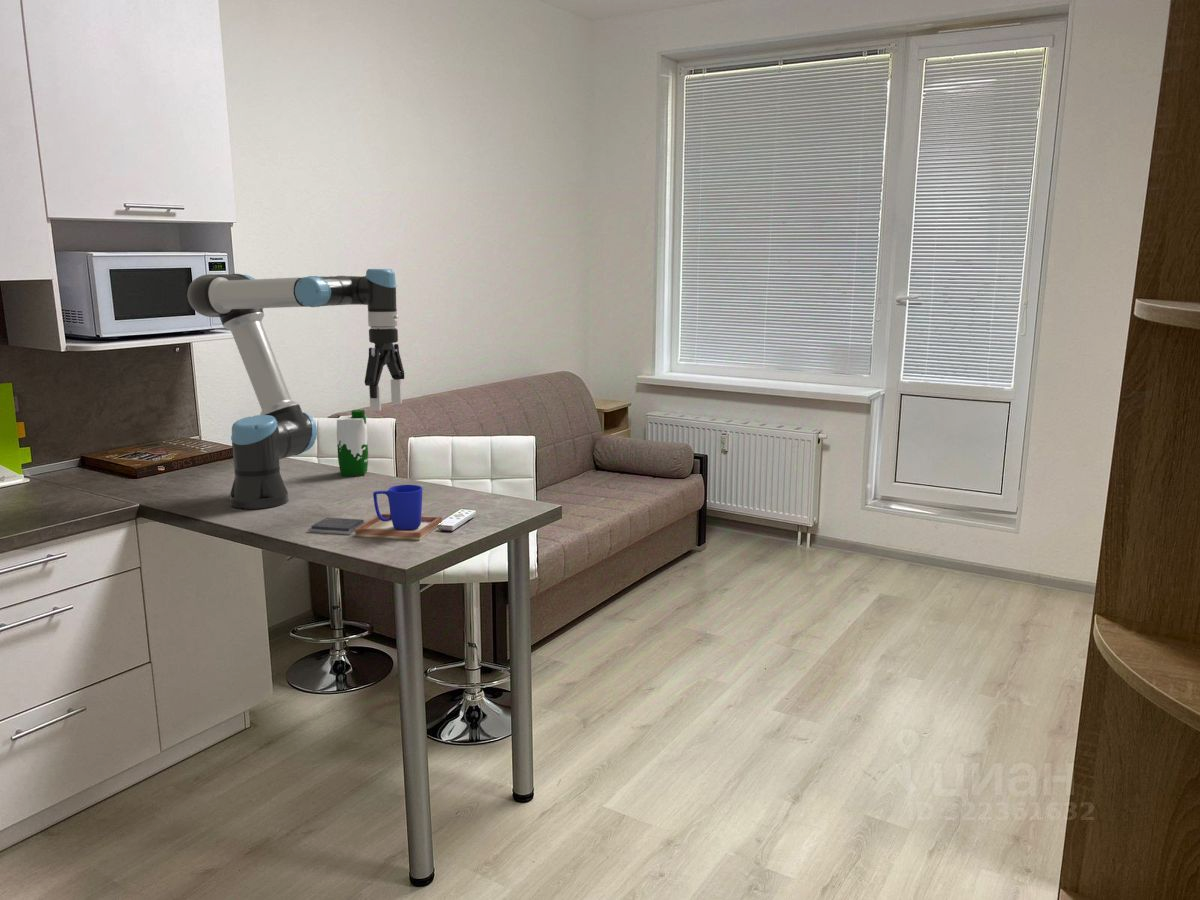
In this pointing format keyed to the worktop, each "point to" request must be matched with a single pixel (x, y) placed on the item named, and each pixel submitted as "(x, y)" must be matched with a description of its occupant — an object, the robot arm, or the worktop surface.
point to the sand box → (387, 529)
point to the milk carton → (352, 444)
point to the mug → (403, 506)
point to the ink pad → (336, 526)
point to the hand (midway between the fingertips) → (386, 406)
